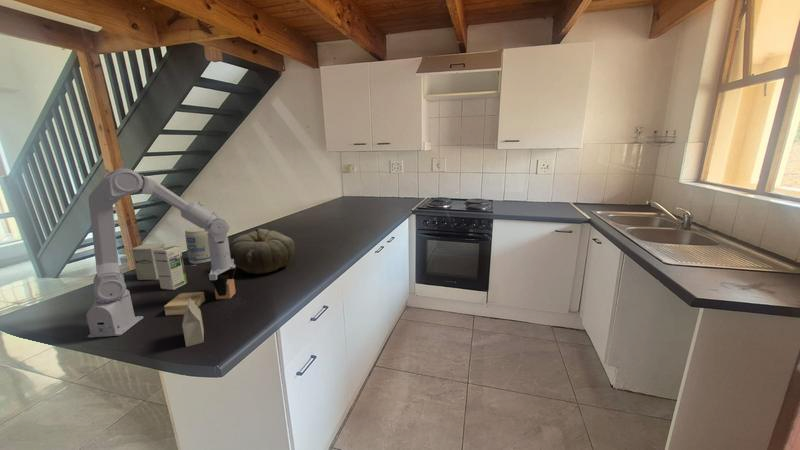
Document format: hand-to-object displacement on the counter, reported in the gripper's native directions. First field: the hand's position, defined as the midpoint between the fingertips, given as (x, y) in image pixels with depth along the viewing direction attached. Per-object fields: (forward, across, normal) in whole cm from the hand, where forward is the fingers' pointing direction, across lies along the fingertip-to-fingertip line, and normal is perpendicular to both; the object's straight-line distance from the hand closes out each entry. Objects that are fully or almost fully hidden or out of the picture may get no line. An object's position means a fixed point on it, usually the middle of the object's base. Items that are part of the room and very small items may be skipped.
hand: (225, 291), depth 106 cm
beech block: (+1, -7, +9) cm, 11 cm away
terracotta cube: (+1, 0, 0) cm, 1 cm away
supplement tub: (+2, +39, +25) cm, 46 cm away
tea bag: (+2, -25, -2) cm, 25 cm away
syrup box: (+2, +11, +22) cm, 25 cm away
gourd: (+2, +26, -6) cm, 27 cm away
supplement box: (+2, +22, +35) cm, 41 cm away
